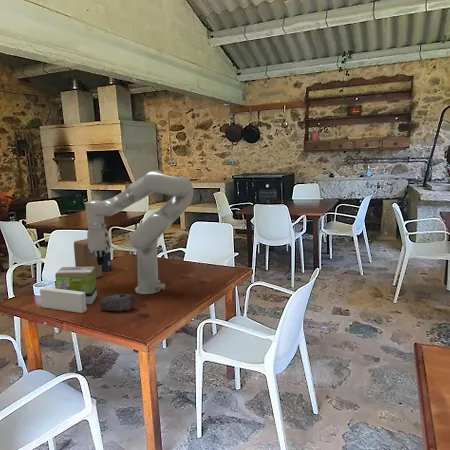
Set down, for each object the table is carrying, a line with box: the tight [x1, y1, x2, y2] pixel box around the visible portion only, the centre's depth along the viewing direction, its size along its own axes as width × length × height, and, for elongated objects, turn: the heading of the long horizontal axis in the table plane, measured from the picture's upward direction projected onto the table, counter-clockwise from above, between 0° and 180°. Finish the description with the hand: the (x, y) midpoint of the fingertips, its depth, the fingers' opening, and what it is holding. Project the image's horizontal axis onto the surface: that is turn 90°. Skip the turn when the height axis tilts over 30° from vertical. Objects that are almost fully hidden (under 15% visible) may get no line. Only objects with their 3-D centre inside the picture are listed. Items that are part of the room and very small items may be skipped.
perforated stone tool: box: [99, 293, 136, 312], centre depth 167 cm, size 15×5×7 cm, turn 88°
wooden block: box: [73, 238, 103, 279], centre depth 210 cm, size 10×10×20 cm
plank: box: [39, 286, 88, 314], centre depth 168 cm, size 21×3×8 cm, turn 71°
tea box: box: [55, 266, 98, 305], centre depth 177 cm, size 15×10×15 cm
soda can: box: [102, 251, 112, 272], centre depth 223 cm, size 7×7×12 cm
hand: (101, 264), depth 190 cm, fingers closed
